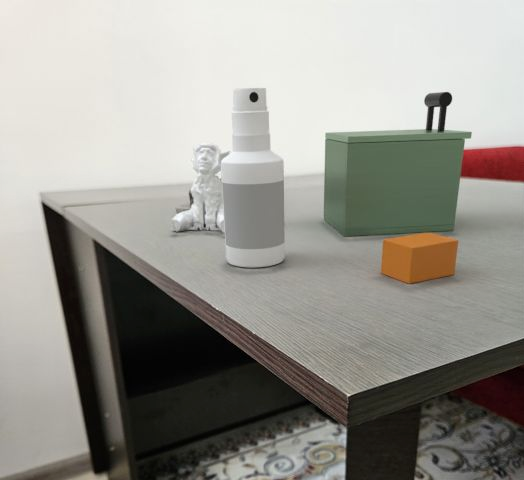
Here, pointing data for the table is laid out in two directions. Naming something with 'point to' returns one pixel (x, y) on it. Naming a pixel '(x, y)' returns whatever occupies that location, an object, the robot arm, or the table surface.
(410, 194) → the trash bin
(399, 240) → the orange rectangular block
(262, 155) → the spray bottle
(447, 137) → the bin lid
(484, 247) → the table surface
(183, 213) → the sitting furry creature
